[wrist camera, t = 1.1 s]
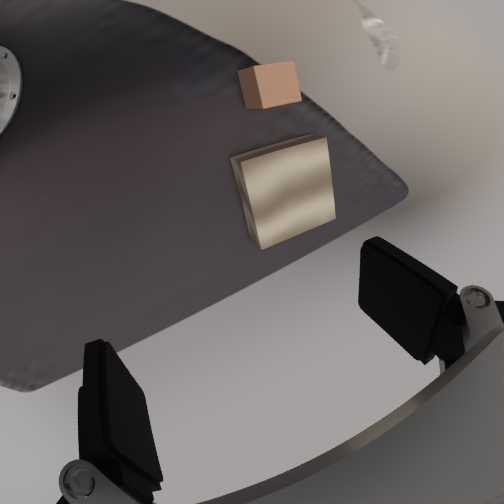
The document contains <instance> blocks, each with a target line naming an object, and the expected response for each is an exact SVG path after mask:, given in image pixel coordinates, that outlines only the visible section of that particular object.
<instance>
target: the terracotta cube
mask: <svg viewBox="0 0 504 504" xmlns="http://www.w3.org/2000/svg"><path fill="white" fill-rule="evenodd" d="M237 72H238V76H239V80H240V85H241V89H242V93H243V97H244V101H245V106H246V109H265V108H269V107H274V106H279V105H283V104H288V103H293V102H298V101H302V99H301V93H300V88H299V84H298V79H297V74H296V69H295V64H294V61H285V62H277V63H270V64H264V65H258V66H252V67H249V68H246V69H242V70H239V71H237Z"/></svg>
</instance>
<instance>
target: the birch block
mask: <svg viewBox="0 0 504 504" xmlns="http://www.w3.org/2000/svg"><path fill="white" fill-rule="evenodd" d="M230 159H231V163H232V166H233V170H234V174H235V178H236V182H237V186H238V190H239V194H240V198H241V202H242V206H243V210H244V214H245V218H246V222H247V226H248V229H249V233H250V237H251V240H252V241H253V242H254V243H255V244H256V245H257V246H258V247H259V248H260V249H261V250H263V249H265V248H267V247H270V246H272V245H275V244H277V243H279V242H282V241H284V240H286V239H289V238H291V237H293V236H296V235H298V234H301V233H303V232H305V231H308V230H310V229H312V228H315V227H317V226H319V225H322V224H324V223H326V222H329V221H331V220H334V219H336V217H335V206H334V196H333V186H332V177H331V169H330V161H329V153H328V146H327V139H326V137H322V136H317V135H313V134H309V135H306V136H302V137H298V138H294V139H290V140H287V141H283V142H280V143H276V144H273V145H269V146H266V147H262V148H259V149H256V150H252V151H249V152H246V153H243V154H240V155H236V156H233V157H230Z"/></svg>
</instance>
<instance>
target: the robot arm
mask: <svg viewBox="0 0 504 504" xmlns="http://www.w3.org/2000/svg"><path fill="white" fill-rule="evenodd" d="M7 55H8V56H7ZM6 56H7V58H6ZM22 88H23V76H22V69H21V66H20V63H19V61H18V59H17V57H16V56H15V54H13V53H12V52H11V51H10V50H8V49H7V48H5V47H2V46H0V135H1V134H2V133H3V132H4V131H5V129H6V128H7V127H8V125H9V124H10V122H11V121H12V119H13V117H14V115H15V113H16V111H17V108H18V105H19V102H20V99H21V94H22ZM15 94H16V97H15V98H14V95H15ZM457 289H458V286H456V285H455V284H453V283H452V282H450V281H449V280H447V279H446V278H444V277H443V276H441V275H440V274H438V273H437V272H435V271H434V270H432V269H431V268H429V267H427V266H426V265H424V264H423V263H421V262H419V261H418V260H417V259H415V258H413V257H412V256H410V255H409V254H407V253H405V252H404V251H402V250H400V249H399V248H397V247H395V246H394V245H392V244H391V243H389V242H387V241H386V240H384V239H382V238H381V237H378V236H376V237H373V238H371V239H368V240H366V241H365V242H364V243H363V246H362V247H361V250H360V278H359V296H358V297H359V298H358V303H359V306H360V308H361V309H362V310H363V311H364V312H365V313H366V314H367V315H368V316H369V317H370V318H371V319H372V320H374V321H375V322H376V323H377V324H378V325H379V326H380V327H381V328H382V329H383V330H384V331H386V332H387V333H388V334H389V335H390V336H391V337H392V338H393V339H394V340H395V341H396V342H397V343H398V344H400V346H402V347H403V348H404V349H405V350H406V351H407V352H408V353H409V354H410V355H411V356H412V357H413V358H414V359H416V360H420V361H421V362H422V363H423V364H424V365H426V364H427V363H428V362H429V361H431V360H432V359H433V358H434V357H435V355H436V356H437V357H438V358H439V365H440V376H439V377H437V378H436V379H435V380H434V381H433V382H431V383H430V384H429V385H428V386H426V387H425V388H424V389H422V390H421V391H420V392H419V393H417V394H416V395H415V396H413V397H412V398H411V399H409V400H408V401H407V402H405V403H404V404H403V405H401V406H400V407H398V408H397V409H396V410H394V411H393V412H391V413H390V414H388V415H387V416H385V417H384V418H382V419H381V420H379V421H378V422H376V423H375V424H373V425H372V426H370V427H369V428H367V429H365V430H364V431H362V432H361V433H359V434H357V435H356V436H354V437H352V438H351V439H349V440H347V441H345V442H344V443H342V444H340V445H338V446H336V447H335V448H333V449H331V450H329V451H327V452H325V453H323V454H322V455H320V456H318V457H316V458H314V459H312V460H310V461H308V462H306V463H304V464H301V465H300V466H297V467H295V468H293V469H291V470H289V471H286V472H284V473H282V474H279V475H277V476H275V477H272V478H270V479H267V480H265V481H262V482H260V483H257V484H255V485H252V486H249V487H247V488H244V489H241V490H238V491H235V492H232V493H229V494H226V495H223V496H221V497H218V498H214V499H211V500H208V501H204V502H201V503H197V504H504V301H494V299H493V297H492V295H491V294H490V293H489V292H488V291H487V290H485V289H484V288H482V287H479V286H474V285H471V286H466V287H465V288H463V289H462V290H461V292H460V295H459V294H457V293H456V292H457ZM78 443H79V460H73V461H71V462H69V463H68V464H66V465H65V466H64V468H63V469H62V471H61V473H60V476H59V487H60V490H61V492H62V494H63V495H62V497H61V498H60V500H59V501H58V502H57V503H56V504H156V503H155V502H153V500H154V497H153V493H152V492H154V491H158V490H162V489H161V486H160V482H162V481H163V475H162V471H161V468H160V464H159V460H158V456H157V452H156V447H155V443H154V439H153V434H152V430H151V425H150V420H149V415H148V410H147V405H146V399H145V395H144V393H143V391H142V389H141V387H140V386H139V385H138V383H137V382H136V381H135V379H134V378H133V377H132V375H131V374H130V372H129V371H128V369H127V368H126V367H125V365H124V364H123V362H122V361H121V359H120V358H119V356H118V355H117V353H116V352H115V350H114V349H113V347H112V346H111V344H110V343H109V342H108V341H107V342H104V341H103V340H102V339H98V340H95V341H92V342H89V343H86V344H85V350H84V365H83V386H82V387H80V388H79V392H78Z"/></svg>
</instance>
